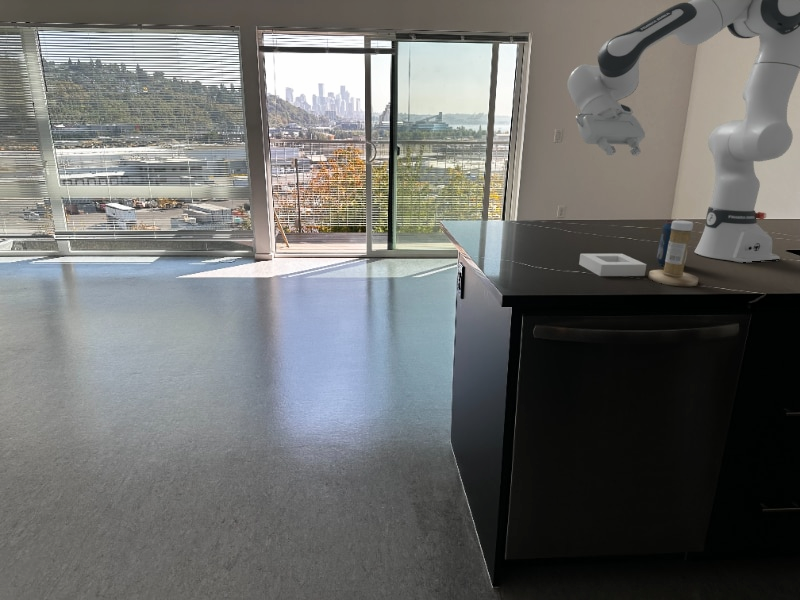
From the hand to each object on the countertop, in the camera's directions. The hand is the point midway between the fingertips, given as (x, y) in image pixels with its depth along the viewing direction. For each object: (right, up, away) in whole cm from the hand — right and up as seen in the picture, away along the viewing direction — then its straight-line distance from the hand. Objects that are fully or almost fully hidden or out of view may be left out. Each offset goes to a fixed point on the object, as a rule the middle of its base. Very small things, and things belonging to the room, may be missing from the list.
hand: (624, 153), depth 135 cm
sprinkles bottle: (+8, -33, -8) cm, 35 cm away
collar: (-4, -31, 0) cm, 31 cm away
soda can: (+15, -29, +7) cm, 34 cm away
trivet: (+8, -34, -8) cm, 36 cm away
